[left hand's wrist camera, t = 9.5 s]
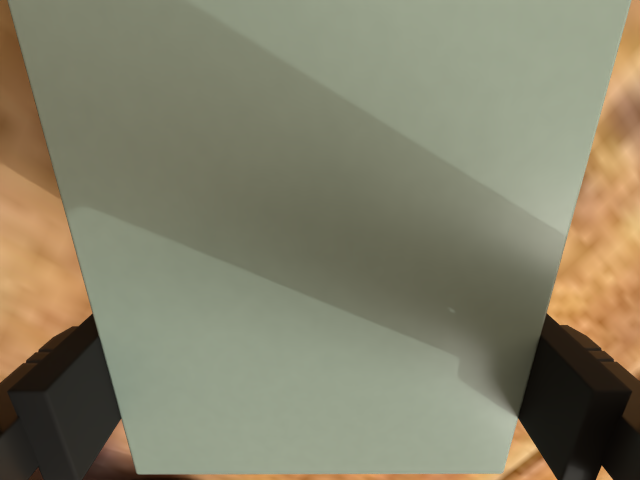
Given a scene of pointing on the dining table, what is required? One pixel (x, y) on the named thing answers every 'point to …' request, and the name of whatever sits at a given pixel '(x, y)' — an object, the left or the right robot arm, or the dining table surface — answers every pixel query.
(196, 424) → the pale green rectangular box
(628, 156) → the dining table surface
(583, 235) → the dining table surface
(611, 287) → the dining table surface
